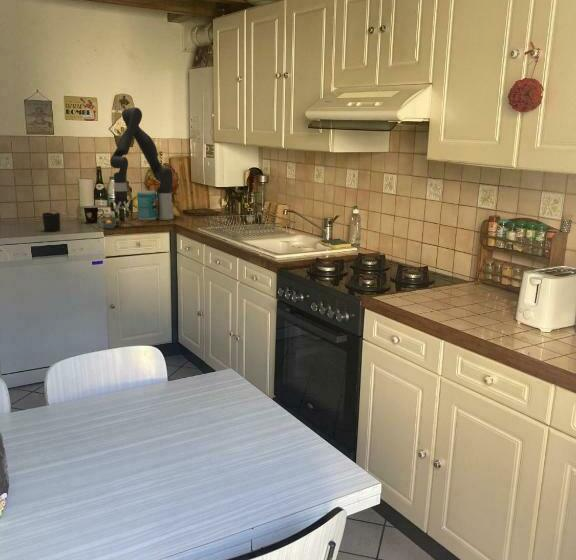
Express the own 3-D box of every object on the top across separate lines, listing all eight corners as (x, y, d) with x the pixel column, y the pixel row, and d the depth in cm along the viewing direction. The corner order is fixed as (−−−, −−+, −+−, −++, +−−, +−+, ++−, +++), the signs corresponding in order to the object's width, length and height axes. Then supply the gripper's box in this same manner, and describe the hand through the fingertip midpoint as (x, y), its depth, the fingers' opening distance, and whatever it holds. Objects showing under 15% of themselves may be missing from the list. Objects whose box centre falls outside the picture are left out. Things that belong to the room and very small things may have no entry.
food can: (136, 218, 409) (135, 190, 405) (154, 217, 414) (153, 190, 410) (140, 221, 399) (139, 192, 394) (159, 219, 404) (158, 192, 400)
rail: (138, 223, 390) (138, 220, 389) (143, 225, 384) (143, 222, 383) (116, 225, 382) (116, 222, 382) (121, 226, 376) (121, 224, 375)
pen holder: (55, 228, 367) (54, 211, 364) (64, 230, 361) (62, 213, 359) (40, 230, 360) (39, 213, 357) (49, 232, 354) (47, 215, 352)
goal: (108, 225, 380) (108, 220, 379) (114, 227, 372) (114, 222, 371) (97, 226, 376) (97, 221, 376) (103, 228, 368) (103, 223, 368)
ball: (108, 218, 376) (103, 222, 375) (111, 219, 373) (105, 223, 372) (112, 223, 378) (107, 227, 377) (114, 224, 375) (109, 228, 374)
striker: (125, 224, 384) (124, 208, 381) (128, 225, 379) (128, 209, 377) (111, 225, 379) (110, 209, 376) (114, 226, 374) (113, 210, 372)
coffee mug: (81, 223, 388) (80, 207, 385) (91, 221, 395) (90, 205, 392) (95, 224, 382) (94, 208, 380) (105, 222, 390) (104, 206, 387)
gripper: (129, 188, 382) (131, 216, 386) (106, 190, 373) (108, 217, 378) (134, 190, 376) (135, 217, 380) (111, 191, 368) (112, 219, 372)
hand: (121, 217), depth 379 cm, fingers open, 6 cm apart
